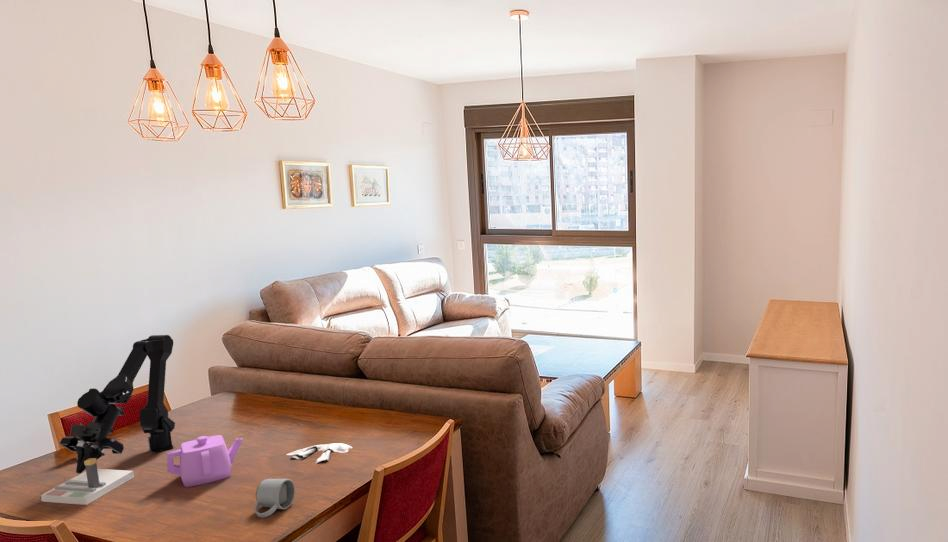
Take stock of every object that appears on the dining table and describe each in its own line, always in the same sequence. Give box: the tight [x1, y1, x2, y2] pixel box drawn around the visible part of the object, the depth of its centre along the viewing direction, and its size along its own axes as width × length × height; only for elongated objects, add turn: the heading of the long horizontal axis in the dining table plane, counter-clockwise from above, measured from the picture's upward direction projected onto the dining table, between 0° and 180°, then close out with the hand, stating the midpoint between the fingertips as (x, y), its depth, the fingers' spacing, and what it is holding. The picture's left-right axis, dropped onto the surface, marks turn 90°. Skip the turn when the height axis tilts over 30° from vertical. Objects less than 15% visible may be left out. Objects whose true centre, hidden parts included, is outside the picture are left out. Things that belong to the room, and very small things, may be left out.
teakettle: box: [166, 434, 243, 488], centre depth 198 cm, size 17×17×12 cm
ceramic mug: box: [254, 478, 296, 519], centre depth 174 cm, size 11×8×8 cm
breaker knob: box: [84, 458, 100, 488], centre depth 190 cm, size 2×2×8 cm
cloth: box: [286, 442, 353, 465], centre depth 209 cm, size 20×22×2 cm
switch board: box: [40, 468, 135, 506], centre depth 195 cm, size 18×16×3 cm
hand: (78, 473), depth 189 cm, fingers closed
